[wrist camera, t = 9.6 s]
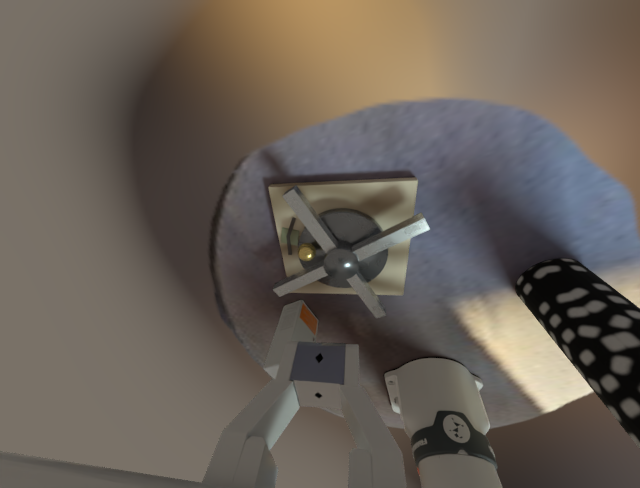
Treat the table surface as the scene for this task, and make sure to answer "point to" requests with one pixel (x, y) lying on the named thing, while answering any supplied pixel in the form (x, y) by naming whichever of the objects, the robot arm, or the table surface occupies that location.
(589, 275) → the spotted tube
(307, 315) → the skincare box
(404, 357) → the table surface
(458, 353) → the table surface
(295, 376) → the robot arm
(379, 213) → the beige base plate
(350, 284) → the capstan
